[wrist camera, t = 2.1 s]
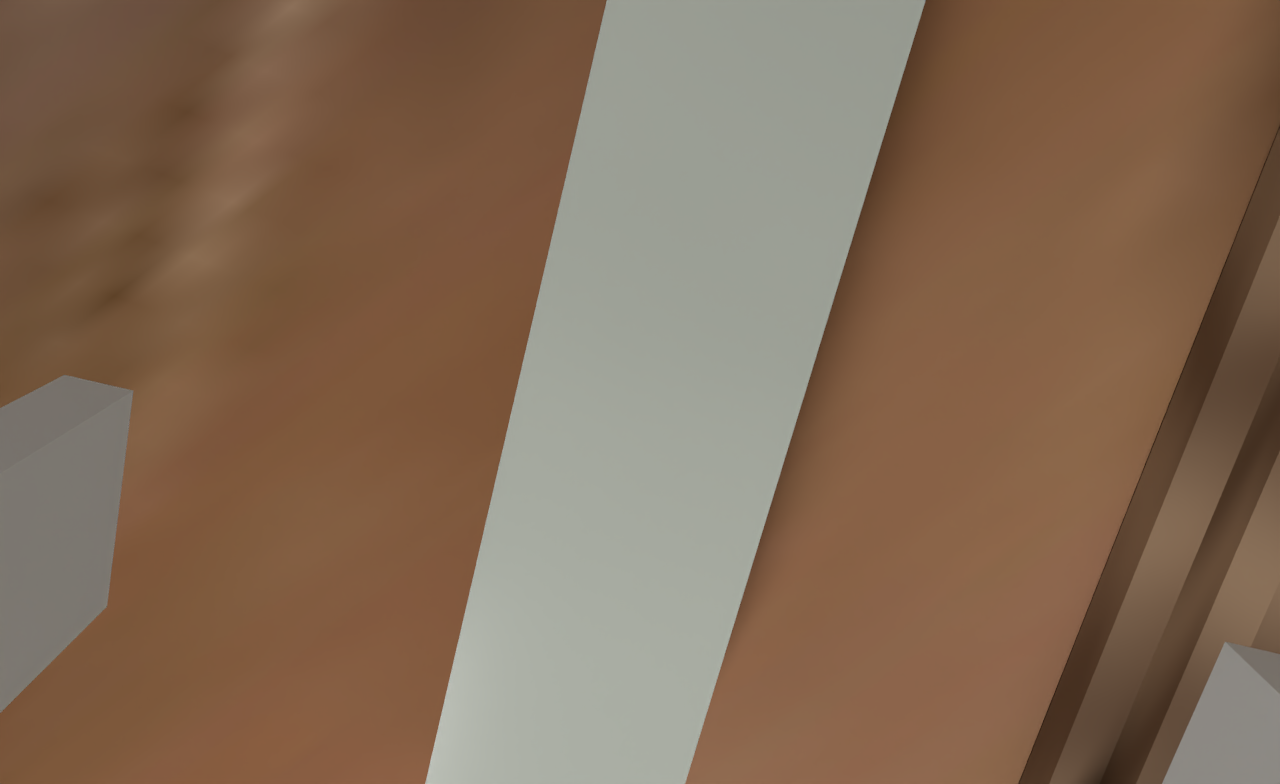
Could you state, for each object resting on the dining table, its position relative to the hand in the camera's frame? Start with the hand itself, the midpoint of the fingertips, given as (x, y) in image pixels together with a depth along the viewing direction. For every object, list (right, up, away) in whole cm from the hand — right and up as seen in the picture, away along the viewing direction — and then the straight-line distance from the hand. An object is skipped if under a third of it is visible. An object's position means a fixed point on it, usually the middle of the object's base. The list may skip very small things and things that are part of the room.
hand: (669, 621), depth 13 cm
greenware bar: (-1, +2, +8) cm, 8 cm away
